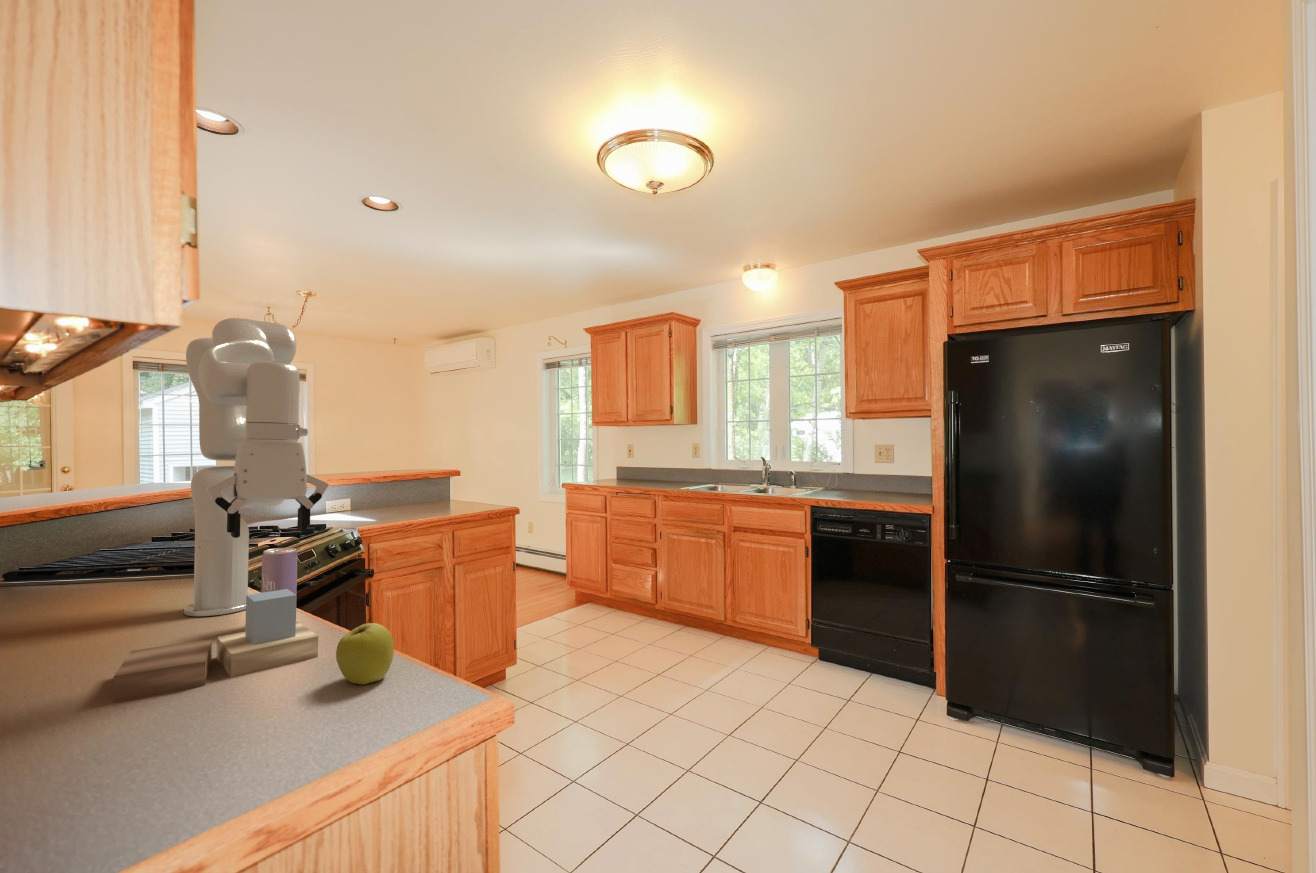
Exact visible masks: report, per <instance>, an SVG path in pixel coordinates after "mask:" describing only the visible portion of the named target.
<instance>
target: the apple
mask: <svg viewBox="0 0 1316 873" xmlns="http://www.w3.org/2000/svg"><path fill="white" fill-rule="evenodd" d="M371 619H372V618H371V617H370V618H369V619H368V620H367V621H366V623H363V624H361V625H359V626H357V627H355V628H353V629H352V630H350V631H349V632H347V633H346V634H344V636H343V637H342V638H341V639H340V640H339V642H338V643H337V646H336V650H335V652H336V653H335V656H336V657H335V658H336V663H337V666H338V668H339V670H340V672H341V674H342V676H343V677H344V678H345V679H346V680H347V681H348V682H350V683H352V684H356V685H357V684H358V685H368V684H370V683H373V682H377V681H381V680H382V679H384V678H385V677H386V675H387V673H388V672H389V671H390V668H391V665H392V662H393V658H394V653H395V651H394V650H395V648H394V647H395V645H394V641H393V637H392V635H391V632H390V631H389V630H388V629H387V627H385V626H384V625H382V624H380V623H375V622H373V623H370V621H371ZM368 622H369V623H368Z"/></svg>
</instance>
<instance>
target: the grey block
mask: <svg viewBox="0 0 1316 873" xmlns="http://www.w3.org/2000/svg"><path fill="white" fill-rule="evenodd" d="M296 619H297V598H296V594H294V593H293V592H291V591H290V590H288V589H284V590H277V591H270V592H263V593H261V592H258V593H251V594H248V595H246V609H245V626H244V627H245V629H244V632H245V637H246V638H247V639H248V640H249V641H250V642H251V643H252V644H253V645H254V644H259V643H264V642H269V641H274V640H279V639H284V638H289V637H294V636H295V634H296V622H297V620H296Z"/></svg>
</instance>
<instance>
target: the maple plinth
mask: <svg viewBox="0 0 1316 873" xmlns="http://www.w3.org/2000/svg"><path fill="white" fill-rule="evenodd" d="M216 637H217V638H216V659H217V660H218V661H219V662H220V664H221V666H222V667H223V668H224V670H225V671H226V673H227V674H228V676H229V677H230V678H232V677H238V676H242V675H246V674H250V673H254V672H258V671H263V670H268V669H272V668H276V667H280V666H285V665H289V664H293V663H298V662H301V661H306V660H310V659H315V658H318V657H319V636H318V635H317V634H316V633H314V632H313V631H312V630H310V629H309V628H308V627H306V626H305V625H303V623H301V622H299V621H296V634H295V636H294V637H289V638H284V639H279V640H274V641H269V642H264V643H259V644H254V645H253V644H252V643H251V642H250V641H249V640H248V639H247V638H246V637H245V631H241V632H236V633H231V634H225V635H220V636H216Z"/></svg>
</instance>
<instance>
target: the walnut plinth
mask: <svg viewBox="0 0 1316 873" xmlns="http://www.w3.org/2000/svg"><path fill="white" fill-rule="evenodd" d="M212 645H213V638H211V639H203V640H196V641H190V642H181V643H175V644H168V645H161V646H154V647H149V648H142V649H141V648H140V649H134V650H131V651H130V652H129V653H128V655H127V656H126V657H125V659H124V661H123V662H122V664H121V665H120V666H119V668H118V669H117V671H116V672H115V674H114V675H113V692H112V694H113V696H112V698H113V699H112V702H113V703H117V702H122V701H127V700H128V701H129V700H134V699H139V698H143V697H144V698H145V697H150V696H155V695H160V694H165V693H171V692H177V691H181V690H188V689H193V688H198V687H204V686H206V682H207V678H208V675H209V671H210V668H211V665H212V664H211V663H212V656H213V655H212V654H213V653H212V652H213V650H212V649H213V646H212Z"/></svg>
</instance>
